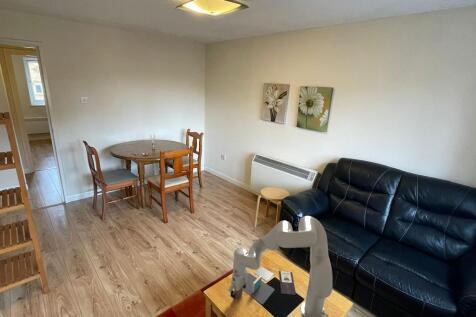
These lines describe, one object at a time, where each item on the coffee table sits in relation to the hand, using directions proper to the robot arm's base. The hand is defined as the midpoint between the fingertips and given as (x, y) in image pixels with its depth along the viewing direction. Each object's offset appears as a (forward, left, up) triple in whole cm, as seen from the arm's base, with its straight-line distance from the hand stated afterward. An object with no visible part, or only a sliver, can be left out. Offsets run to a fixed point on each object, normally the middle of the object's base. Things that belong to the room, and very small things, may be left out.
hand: (238, 292), depth 142 cm
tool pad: (-2, -25, -4) cm, 25 cm away
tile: (-5, -12, -3) cm, 14 cm away
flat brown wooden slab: (0, 0, -4) cm, 4 cm away
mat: (-4, -12, -4) cm, 13 cm away
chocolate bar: (-17, -29, -4) cm, 34 cm away
